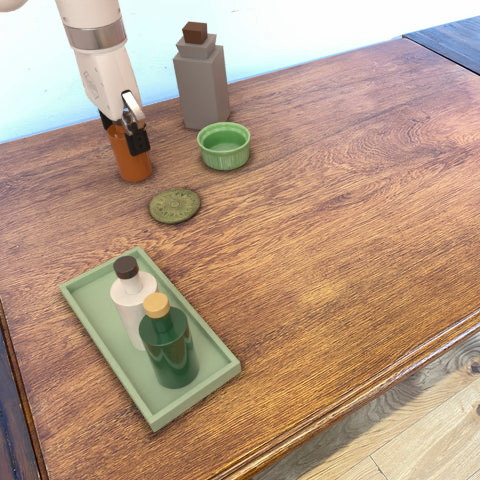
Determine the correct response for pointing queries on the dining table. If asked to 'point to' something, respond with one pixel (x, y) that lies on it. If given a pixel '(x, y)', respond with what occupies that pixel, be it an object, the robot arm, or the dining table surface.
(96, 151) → the dining table surface
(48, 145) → the dining table surface
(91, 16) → the robot arm
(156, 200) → the medallion
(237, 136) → the ramekin
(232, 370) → the tray
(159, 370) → the green glass bottle
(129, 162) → the amber bottle
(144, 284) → the frosted bottle
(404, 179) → the dining table surface
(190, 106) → the perfume bottle
